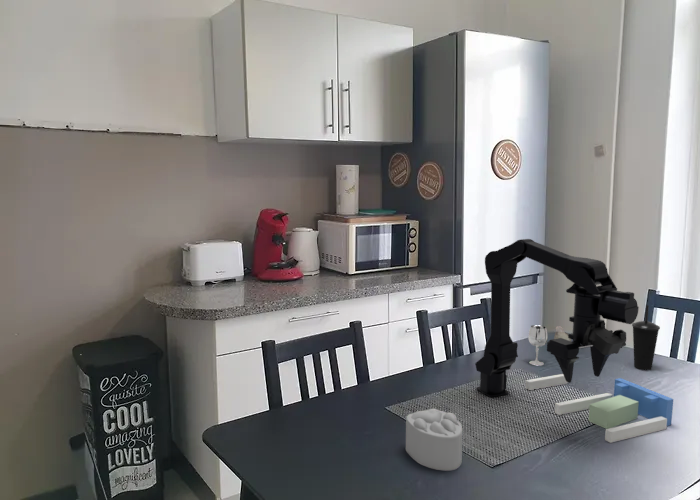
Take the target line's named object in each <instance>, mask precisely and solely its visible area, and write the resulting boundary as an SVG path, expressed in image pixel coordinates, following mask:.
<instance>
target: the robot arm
mask: <svg viewBox="0 0 700 500" xmlns="http://www.w3.org/2000/svg"><path fill="white" fill-rule="evenodd" d="M526 258H527V259H530V260H532V261H534V262H537V263H539V264H542V265H544V266H546V267H549V268H551V269H553V270H556V271H558V272H560V273H561V274H563V275H564V276H565V278H566V279H567V280H568V281H570V282H572V283H573V284H572V285H571V286H569V288H567V289H565V291H566V293H567V294H573V295H574V304H573V305H574V306H573V316H569V319H568V320H569V322H571V323H572V332H571V333H567V334H568V338H570V339H571V341H568V340H566V339H563V338H558V339H554V338H553V339H549V340H547V342H546V352H548V353H550V354H551V355H553V356H554V358H555V360H556V362H557V363H558V365H559V368H560V370H561V372H562V373H561V374H563V375H564V377H565V380H566V381H567V382H568V383H572V380H573V373H574V366H575V365H574V364H575V362H576V361H577V360H579V358H580V357H579V356H578V355H579V352H580V349H586V348H587V349H588V348H590V349H589V350H590V355H591V356H590V357H591V364H592V370H593V375H594V376H595V377H600V375H601V373H602V371H603V369H604V367H605V365H606V362H607V361H608V358H609V357H610V356H611V355H615V354H619V352H620V351H621V349H623V347H626V346H627V344H626V343H627V332H626V331H625V330H623V329H616V330H614V331H613V330H611V329H610V330H609V329H607V328H606V321H605V320H609V321H614V322H617V323H623V324H627V325H632V324H633V323H635V321H636V319H637V318H638V314H639V309H640V307H639V306H638V300H636V298H635V293H634V292H631V291H621V290H620V291H619V290H618V288H617V286H616V284H615V282H614V281H613V279H612V278H611V276H610V274H609V272H608V268H607V266H606V264H605V263H604V262H603V261H602V260H599V259H594V258H588V257H580V256H574V255H573V256H572V255H569V254H567V253H564V252H562V251H559V250H557V249H554V248H552V247H549V246H546V245H544V244H542V243H540V242H536V241H535V240H533V239H530V238H523V239H522V238H521V239H518V240H516V241H514V242H513V243H511V244H509V245H507V246H505V247H502V248H499V249H498V250H492V251H490V252H488V253H487V254H486V255H485V257H484V267H485V273H486V275H487V277H488V279H489V281H490V283H491V287H490V290H491V292H490V295H491V296H490V334H489V337H488V339H487V341H486V343H485V345H484V351H483V356H482V357H481V358H480V359H479V360H478V361H477V362H475V368H476V369H475V370H476V371H477V372H478V373H480V380H479V386H477V387H476V390H477V391H479V392H480V393H482V394H484V395H485V394H486V396H487V397H490V398H494V397H500V396H504V395H509V394H510V392H509V390H507V384H508V383H507V379H508V378H507V377H508V375H507V371H508V370H511V367H512V365H513V364H514V363H515V362H516V360H517V358H518V357H519V355H518V347H519V345H518V342H516V341H513V339H512V338H511V336H510V332H511V329H510V326H511V325H510V324H511V323H510V321H511V320H510V319H511V317H510V316H511V283H512V281H513V279H514V277H515V275H516V273H517V267H518V264H519V263H521V262H523V261H524V260H525V259H526ZM601 317H602V318H603V319H601Z"/></svg>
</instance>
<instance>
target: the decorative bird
mask: <svg viewBox="0 0 700 500" xmlns="http://www.w3.org/2000/svg"><path fill="white" fill-rule="evenodd" d="M555 330H556V331H555V333H554V336H553V339H558V338H563V339H566V340H568V341H571V342H572V339H570V338H568V334H569V333H567V332H565V329H564V328H563V327H562V326H560V325H557V326H556V327H555Z"/></svg>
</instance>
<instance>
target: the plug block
mask: <svg viewBox="0 0 700 500" xmlns="http://www.w3.org/2000/svg"><path fill="white" fill-rule="evenodd" d="M638 405H639V402H638V401H635V400H632V399H630V398H627V397H624V396H622V395H618V396H615V397H614V396H613V397H612V398H608V399H605V400H602V401H599V402H596V403H593V404H590V406H589V409H588V422H589V421H590V423H591V424H594V425H597V426H599V427H602V428H604V429H605V430H606V429H610V428H614V427H618V426H621V425H624V424H625V423H629V422H631V421H634V420H636V419H638V416H639V414H638Z"/></svg>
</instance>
